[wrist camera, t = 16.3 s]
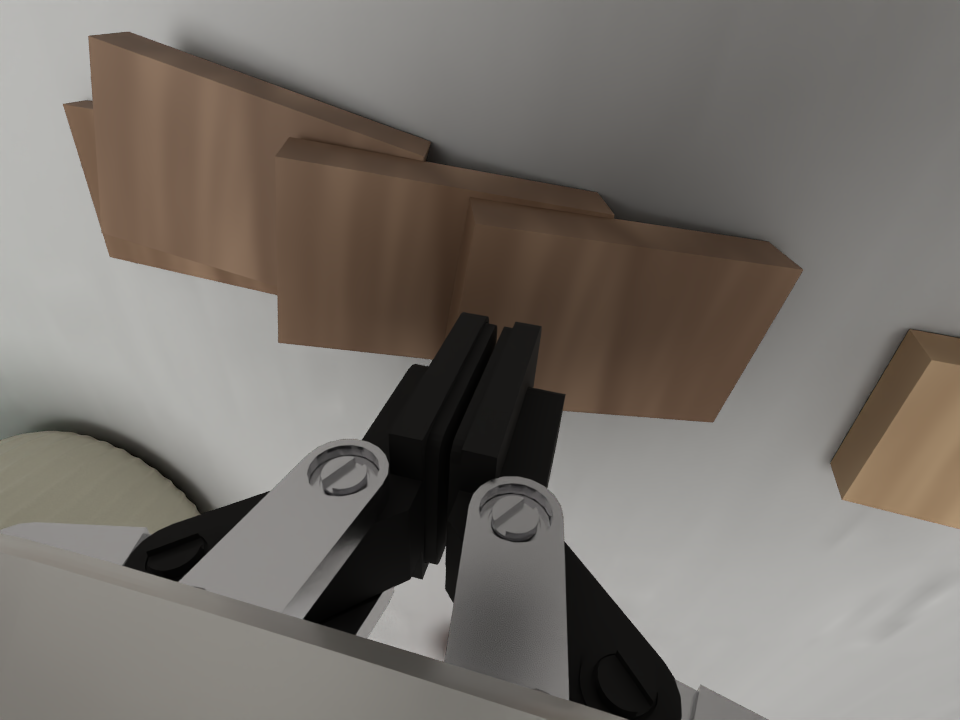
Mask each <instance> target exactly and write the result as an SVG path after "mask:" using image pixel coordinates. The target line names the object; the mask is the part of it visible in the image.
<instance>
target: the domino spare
mask: <svg viewBox="0 0 960 720" xmlns="http://www.w3.org/2000/svg"><path fill="white" fill-rule="evenodd" d="M830 464H831V467H832V470H833V474H834V477H835V480H836V483H837V486H838V489H839V492H840V495H841V498H842V500H845V501H849V502H853V503H857V504H861V505H865V506H869V507H873V508H877V509H881V510H885V511H889V512H893V513H897V514H901V515H906V516H910V517H914V518H918V519H922V520H926V521H930V522H934V523H938V524H942V525H946V526H950V527H954V528H958V529H960V338H956V337H950V336H945V335H939V334H934V333H928V332H923V331H917V330H912V329H909V331H908V332H907V334H906V336H905V338H904V339H903V341H902V343H901V344H900V346H899V348H898V349H897V351H896V353H895V354H894V356H893V358H892V360H891V361H890V363H889V365H888V366H887V368H886V370H885V371H884V373H883V375H882V376H881V378H880V380H879V382H878V383H877V385H876V387H875V388H874V390H873V392H872V393H871V395H870V397H869V398H868V400H867V402H866V404H865V405H864V407H863V409H862V410H861V412H860V414H859V415H858V417H857V419H856V420H855V422H854V424H853V426H852V427H851V429H850V431H849V432H848V434H847V436H846V437H845V439H844V441H843V442H842V444H841V446H840V448H839V449H838V451H837V453H836V454H835V456H834V458H833V459H832V461H831V463H830Z"/></svg>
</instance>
